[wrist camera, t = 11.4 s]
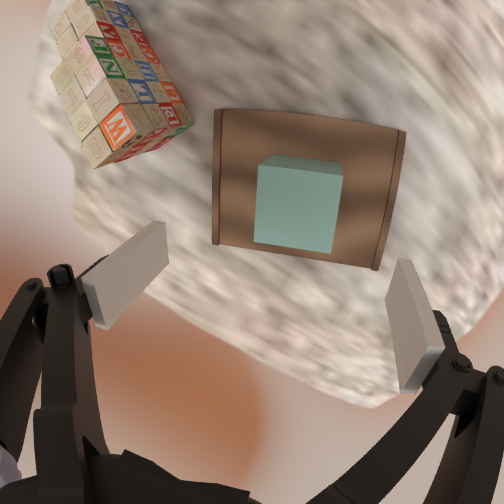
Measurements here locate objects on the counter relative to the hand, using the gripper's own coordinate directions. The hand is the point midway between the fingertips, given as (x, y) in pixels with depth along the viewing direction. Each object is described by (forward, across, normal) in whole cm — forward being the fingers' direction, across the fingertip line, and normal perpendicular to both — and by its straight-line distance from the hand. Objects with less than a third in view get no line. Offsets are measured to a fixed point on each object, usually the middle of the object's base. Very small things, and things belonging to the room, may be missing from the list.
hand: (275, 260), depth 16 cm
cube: (+17, 0, -1) cm, 17 cm away
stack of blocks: (+19, -21, +13) cm, 31 cm away
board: (+18, 0, -1) cm, 19 cm away
